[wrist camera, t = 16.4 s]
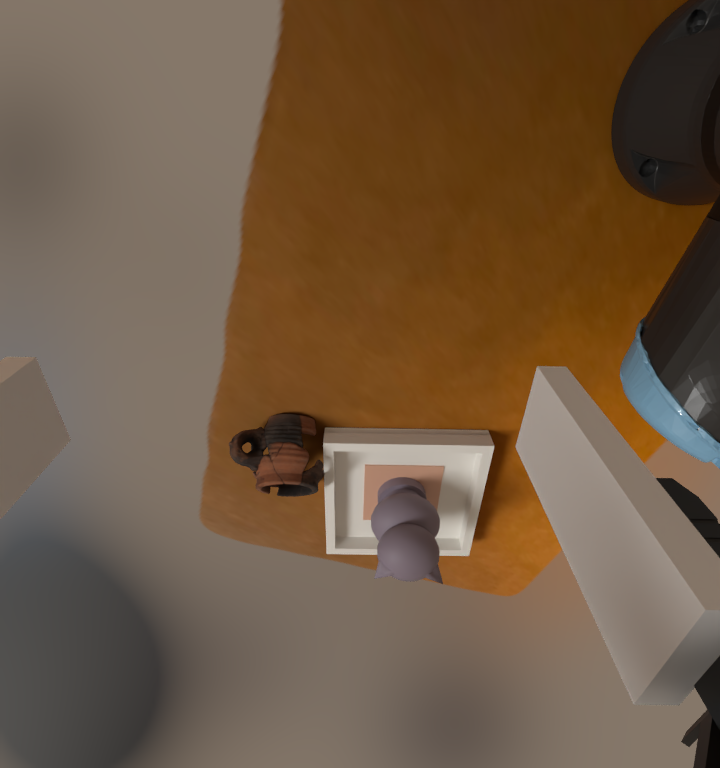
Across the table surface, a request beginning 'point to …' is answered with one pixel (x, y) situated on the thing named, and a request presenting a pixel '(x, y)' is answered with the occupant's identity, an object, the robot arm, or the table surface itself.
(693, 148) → the robot arm
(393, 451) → the tray
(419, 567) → the cat figurine
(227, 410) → the table surface
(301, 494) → the pottery mug
